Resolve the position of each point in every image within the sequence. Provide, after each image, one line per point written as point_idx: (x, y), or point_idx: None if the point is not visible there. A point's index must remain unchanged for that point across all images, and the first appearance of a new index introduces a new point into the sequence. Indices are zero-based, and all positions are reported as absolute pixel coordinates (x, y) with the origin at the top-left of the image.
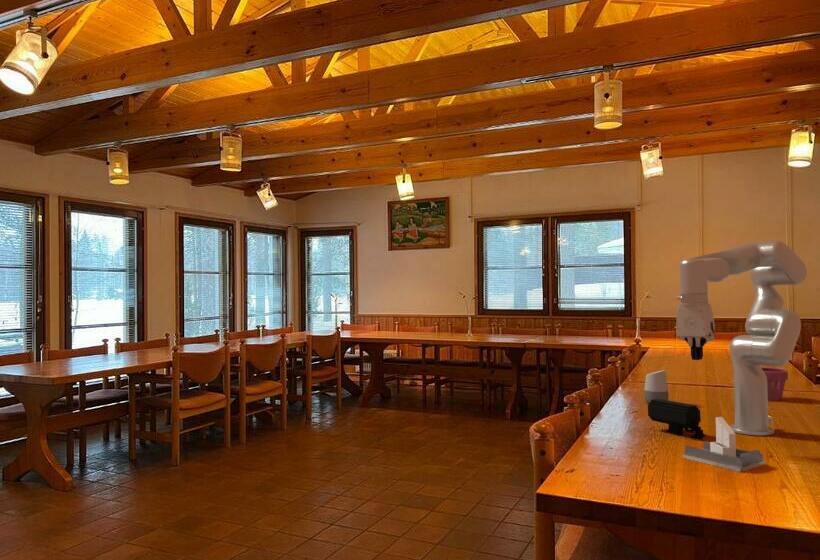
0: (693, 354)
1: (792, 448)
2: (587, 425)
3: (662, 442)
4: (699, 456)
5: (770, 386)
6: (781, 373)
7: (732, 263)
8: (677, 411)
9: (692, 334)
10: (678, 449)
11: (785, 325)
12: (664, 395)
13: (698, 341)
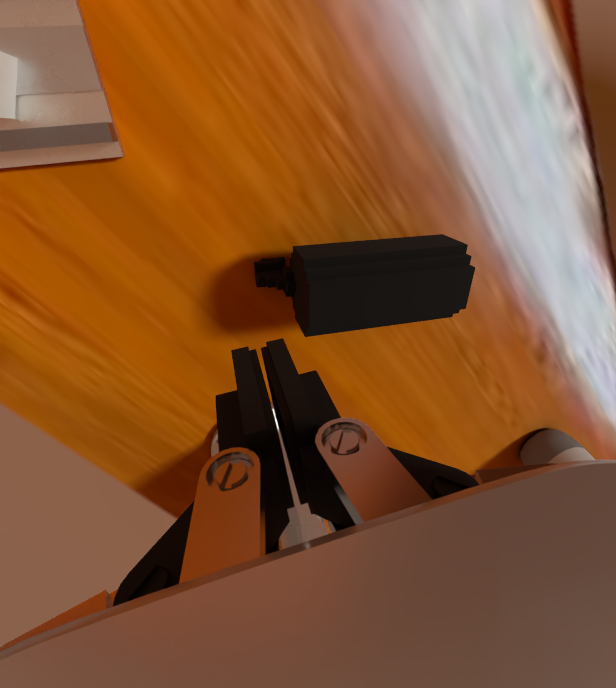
0: (274, 370)
1: (81, 407)
2: (578, 83)
3: (289, 116)
4: None
5: None
6: None
7: None
8: (339, 255)
9: (281, 602)
10: (187, 74)
11: None
12: (534, 463)
13: (219, 526)
